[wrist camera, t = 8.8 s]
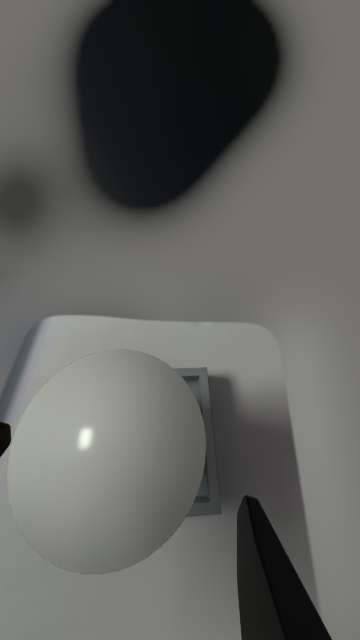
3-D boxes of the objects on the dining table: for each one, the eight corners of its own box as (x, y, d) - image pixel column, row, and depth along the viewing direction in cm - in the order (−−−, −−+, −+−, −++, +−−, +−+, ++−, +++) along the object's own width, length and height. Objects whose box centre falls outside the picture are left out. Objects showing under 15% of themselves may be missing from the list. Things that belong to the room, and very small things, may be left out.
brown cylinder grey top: (130, 490, 15) (27, 635, 4) (107, 418, 17) (-5, 394, 6) (194, 453, 17) (243, 494, 6) (166, 389, 19) (160, 325, 7)
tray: (84, 511, 16) (69, 525, 13) (98, 378, 20) (89, 371, 17) (214, 502, 16) (221, 513, 14) (202, 374, 20) (206, 367, 18)
